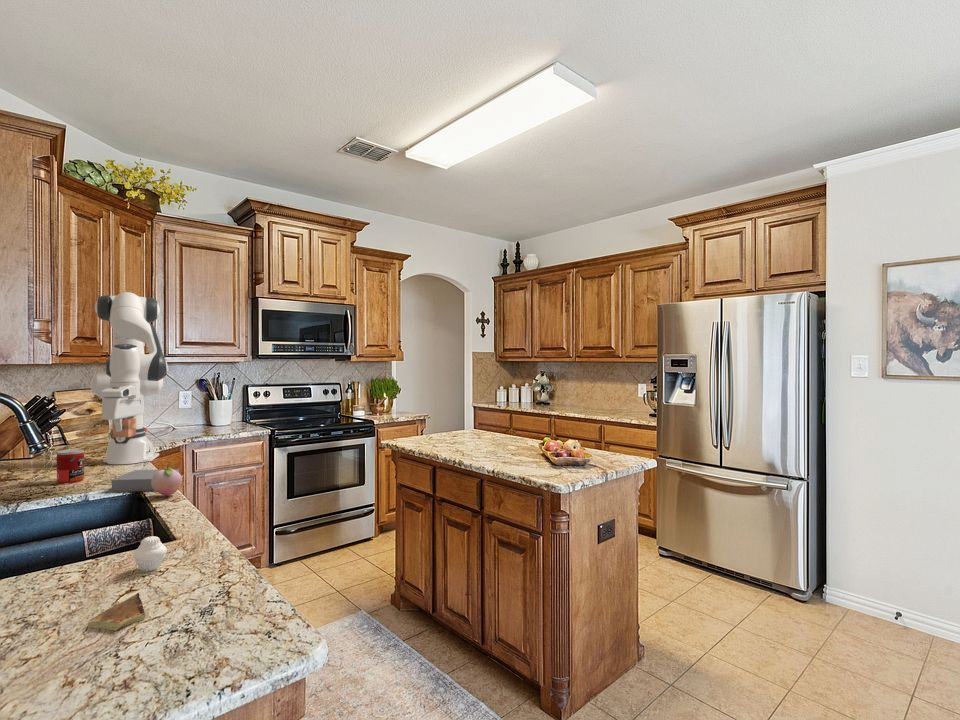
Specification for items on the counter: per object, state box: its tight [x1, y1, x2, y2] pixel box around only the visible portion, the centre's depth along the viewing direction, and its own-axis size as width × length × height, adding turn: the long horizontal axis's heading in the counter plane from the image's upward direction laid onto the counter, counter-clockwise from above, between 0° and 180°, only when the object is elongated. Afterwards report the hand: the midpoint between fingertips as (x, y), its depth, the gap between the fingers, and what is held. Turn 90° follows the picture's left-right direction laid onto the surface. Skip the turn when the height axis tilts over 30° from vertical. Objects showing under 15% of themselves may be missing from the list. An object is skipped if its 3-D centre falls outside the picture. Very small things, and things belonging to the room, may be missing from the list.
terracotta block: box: [113, 418, 136, 437], centre depth 179 cm, size 5×5×6 cm
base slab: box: [111, 468, 180, 493], centre depth 180 cm, size 15×15×4 cm
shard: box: [87, 592, 147, 631], centre depth 91 cm, size 11×8×2 cm
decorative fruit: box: [151, 465, 183, 498], centre depth 166 cm, size 9×8×10 cm
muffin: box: [132, 535, 168, 573], centre depth 110 cm, size 6×6×7 cm
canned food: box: [56, 448, 85, 484], centre depth 185 cm, size 8×8×11 cm
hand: (124, 430), depth 179 cm, fingers closed on terracotta block, 5 cm apart
